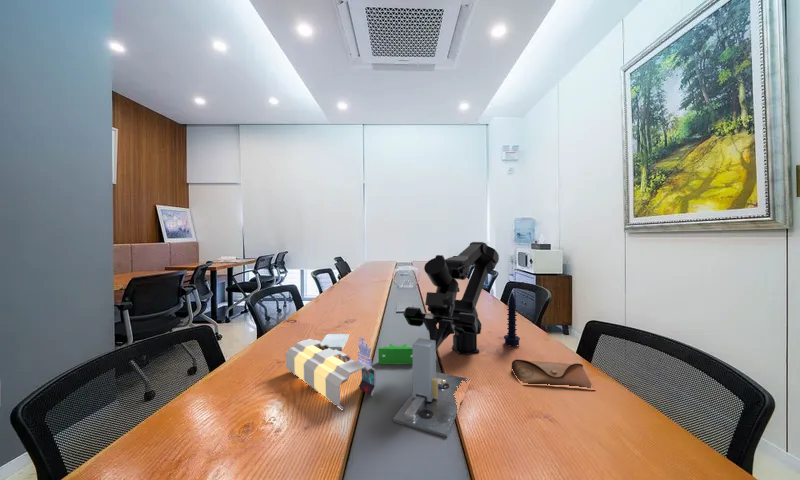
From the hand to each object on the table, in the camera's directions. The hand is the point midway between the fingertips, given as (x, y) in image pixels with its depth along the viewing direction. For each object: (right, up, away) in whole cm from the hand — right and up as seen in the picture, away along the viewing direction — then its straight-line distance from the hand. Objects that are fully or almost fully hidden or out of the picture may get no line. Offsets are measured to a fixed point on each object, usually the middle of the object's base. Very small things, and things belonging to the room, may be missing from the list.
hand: (432, 351), depth 71 cm
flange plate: (0, -9, -5) cm, 10 cm away
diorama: (-26, -9, +2) cm, 28 cm away
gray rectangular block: (-2, -8, -5) cm, 10 cm away
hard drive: (-31, -9, +29) cm, 43 cm away
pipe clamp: (-8, -9, +14) cm, 19 cm away
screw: (+29, -8, +26) cm, 40 cm away
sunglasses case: (+30, -9, +3) cm, 32 cm away
